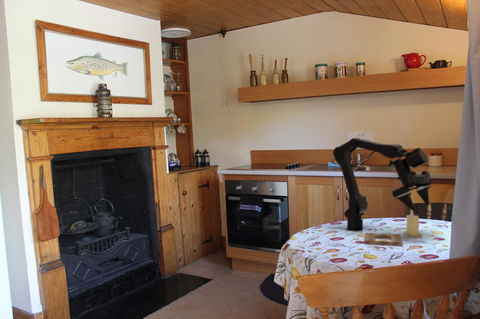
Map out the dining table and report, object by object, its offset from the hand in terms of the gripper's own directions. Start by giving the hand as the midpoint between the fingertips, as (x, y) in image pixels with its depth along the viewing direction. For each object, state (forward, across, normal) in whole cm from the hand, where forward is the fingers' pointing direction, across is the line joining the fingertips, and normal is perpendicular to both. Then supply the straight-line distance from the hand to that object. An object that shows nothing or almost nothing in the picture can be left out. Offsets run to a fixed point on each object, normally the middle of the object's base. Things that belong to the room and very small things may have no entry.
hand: (421, 207), depth 166 cm
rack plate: (+8, -17, +11) cm, 21 cm away
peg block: (+10, 0, +10) cm, 14 cm away
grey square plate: (+10, -1, +10) cm, 15 cm away
